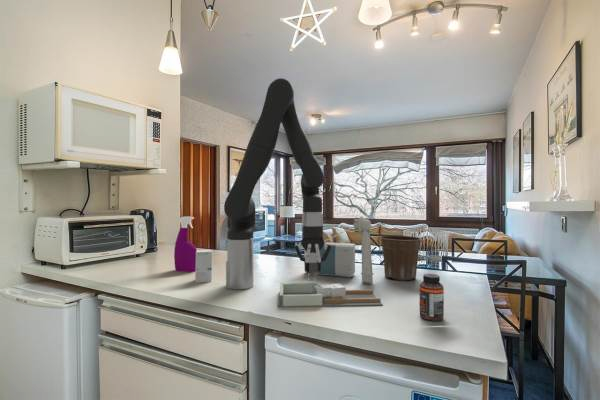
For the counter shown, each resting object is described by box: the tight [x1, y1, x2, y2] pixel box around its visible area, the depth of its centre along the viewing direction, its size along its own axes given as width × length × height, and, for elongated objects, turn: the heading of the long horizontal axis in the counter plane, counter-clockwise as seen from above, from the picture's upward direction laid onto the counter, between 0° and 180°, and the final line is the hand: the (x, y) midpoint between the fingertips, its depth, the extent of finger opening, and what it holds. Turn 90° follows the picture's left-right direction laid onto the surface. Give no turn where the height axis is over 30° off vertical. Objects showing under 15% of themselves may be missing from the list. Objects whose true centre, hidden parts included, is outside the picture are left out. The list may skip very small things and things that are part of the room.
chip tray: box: [279, 282, 322, 306], centre depth 99 cm, size 12×14×3 cm
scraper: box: [307, 263, 319, 282], centre depth 114 cm, size 3×6×11 cm
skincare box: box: [194, 249, 214, 283], centre depth 120 cm, size 6×4×12 cm
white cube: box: [312, 283, 331, 301], centre depth 98 cm, size 4×4×4 cm
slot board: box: [277, 289, 384, 308], centre depth 99 cm, size 31×14×1 cm, turn 93°
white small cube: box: [327, 283, 346, 298], centre depth 98 cm, size 4×4×4 cm
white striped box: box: [303, 227, 356, 278], centre depth 133 cm, size 21×8×20 cm, turn 67°
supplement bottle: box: [419, 273, 445, 322], centre depth 83 cm, size 6×6×11 cm
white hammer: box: [353, 216, 374, 285], centre depth 119 cm, size 5×7×25 cm
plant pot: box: [379, 235, 423, 281], centre depth 128 cm, size 16×16×16 cm
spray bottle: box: [173, 215, 198, 273], centre depth 136 cm, size 3×11×24 cm, turn 74°
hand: (312, 272), depth 113 cm, fingers closed on scraper, 3 cm apart
